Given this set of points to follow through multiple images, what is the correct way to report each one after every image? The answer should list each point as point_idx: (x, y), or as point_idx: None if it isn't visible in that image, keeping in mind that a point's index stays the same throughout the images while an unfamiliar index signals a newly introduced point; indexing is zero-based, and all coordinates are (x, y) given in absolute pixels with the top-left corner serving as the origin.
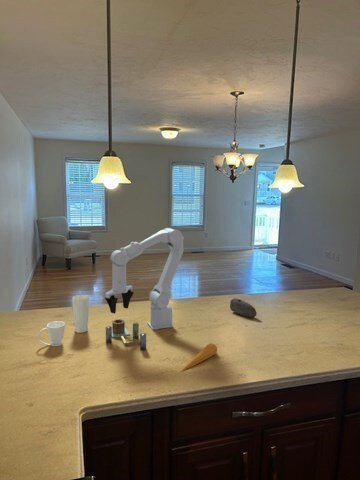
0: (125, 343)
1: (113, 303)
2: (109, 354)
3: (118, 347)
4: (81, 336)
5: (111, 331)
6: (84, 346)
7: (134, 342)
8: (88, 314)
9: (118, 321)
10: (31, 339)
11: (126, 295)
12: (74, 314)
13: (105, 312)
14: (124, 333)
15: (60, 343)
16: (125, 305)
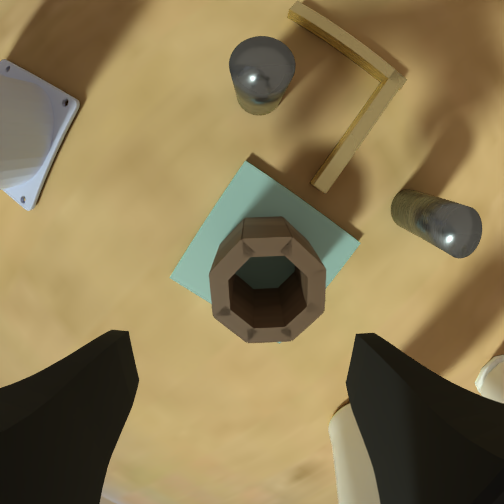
0: (399, 76)
1: (498, 406)
2: (495, 105)
3: (429, 105)
4: None
5: (442, 201)
6: (489, 273)
7: (349, 37)
8: (359, 474)
9: (240, 311)
10: None
11: (46, 485)
12: None
13: (120, 462)
14: (263, 201)
15: (494, 363)
16: (121, 376)
